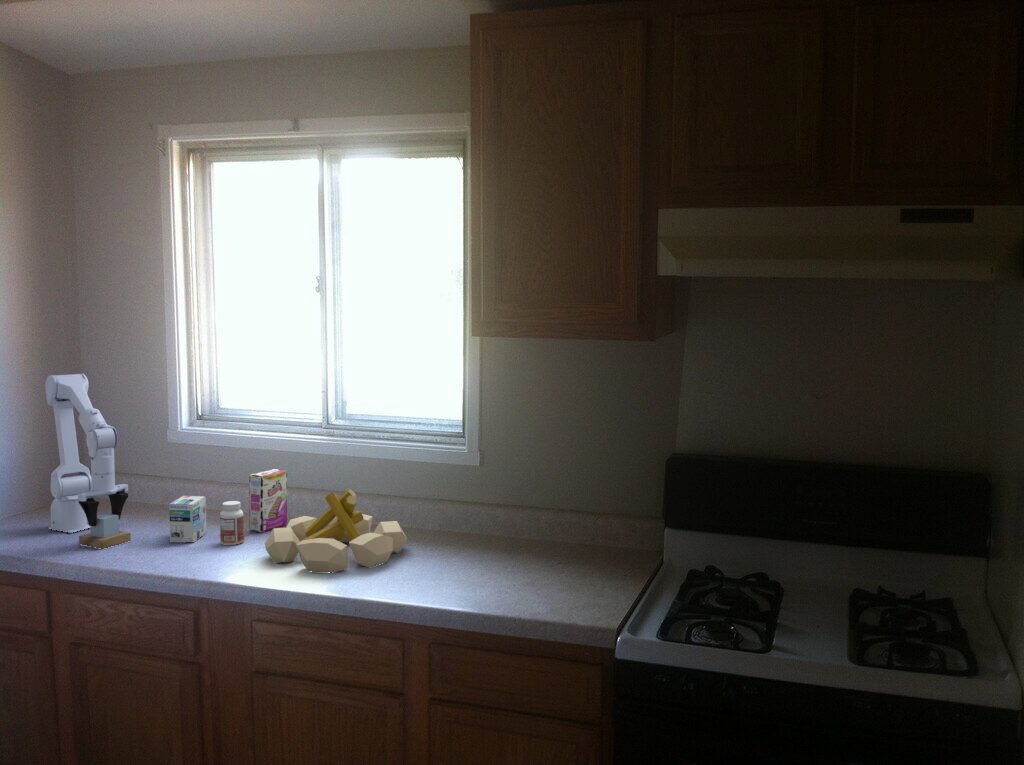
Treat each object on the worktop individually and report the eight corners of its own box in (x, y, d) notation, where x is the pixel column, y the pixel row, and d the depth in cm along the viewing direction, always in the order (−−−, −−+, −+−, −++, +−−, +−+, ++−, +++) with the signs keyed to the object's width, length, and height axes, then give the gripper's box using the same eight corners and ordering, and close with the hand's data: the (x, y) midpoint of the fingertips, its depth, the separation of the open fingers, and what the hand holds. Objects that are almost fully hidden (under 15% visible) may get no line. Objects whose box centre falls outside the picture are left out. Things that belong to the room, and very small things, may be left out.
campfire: (429, 551, 250) (430, 488, 249) (339, 583, 222) (339, 513, 221) (334, 531, 270) (333, 473, 268) (240, 558, 242) (239, 493, 240)
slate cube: (90, 535, 252) (89, 517, 251) (105, 531, 256) (105, 513, 256) (104, 537, 249) (103, 519, 249) (119, 533, 254) (118, 515, 253)
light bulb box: (193, 543, 255) (192, 504, 253) (169, 543, 255) (168, 503, 254) (207, 533, 265) (206, 495, 264) (183, 532, 265) (182, 495, 264)
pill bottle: (238, 538, 260) (238, 499, 259) (247, 543, 255) (247, 503, 254) (216, 542, 256) (216, 502, 255) (225, 547, 251) (225, 506, 250)
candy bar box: (262, 533, 265) (261, 476, 264) (248, 531, 268) (248, 474, 266) (288, 524, 275) (287, 469, 274) (274, 522, 278) (274, 468, 276)
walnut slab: (79, 547, 251) (79, 536, 251) (107, 539, 259) (106, 528, 259) (103, 551, 247) (102, 540, 247) (130, 543, 255) (130, 532, 255)
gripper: (90, 479, 243) (92, 530, 244) (135, 469, 256) (136, 518, 257) (71, 476, 246) (73, 527, 248) (117, 467, 259) (118, 515, 260)
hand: (104, 522), depth 253 cm, fingers open, 7 cm apart
